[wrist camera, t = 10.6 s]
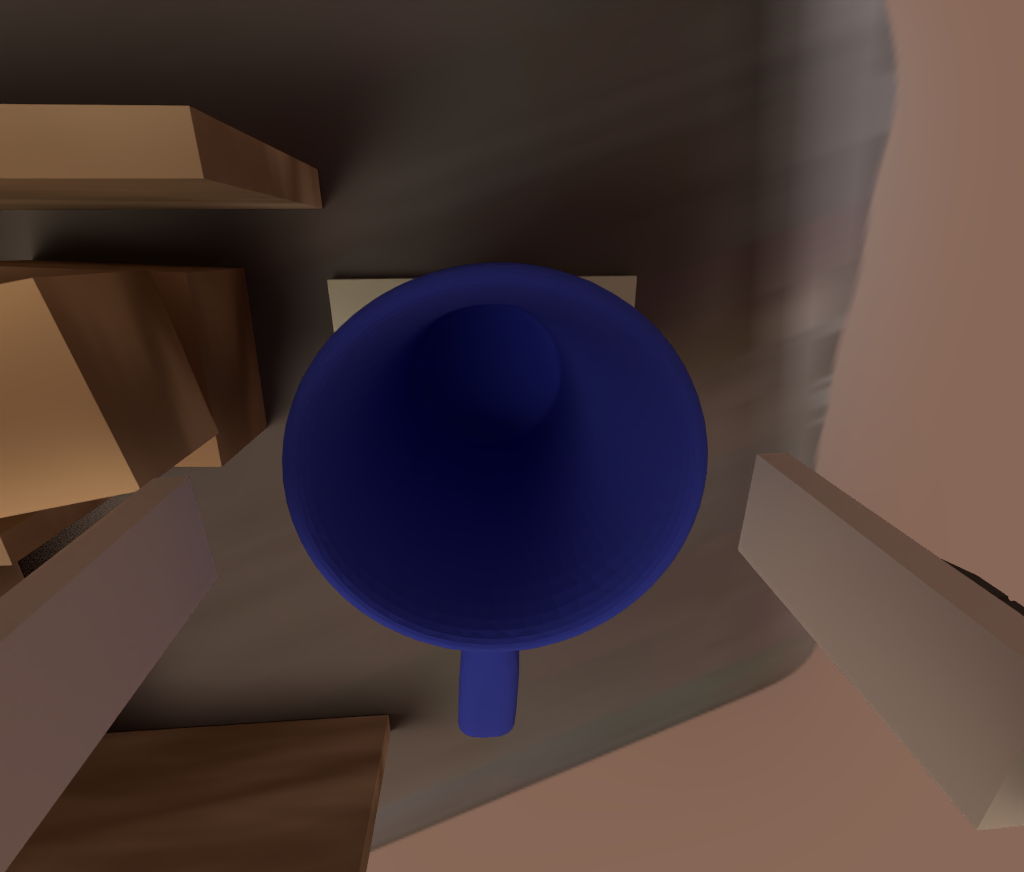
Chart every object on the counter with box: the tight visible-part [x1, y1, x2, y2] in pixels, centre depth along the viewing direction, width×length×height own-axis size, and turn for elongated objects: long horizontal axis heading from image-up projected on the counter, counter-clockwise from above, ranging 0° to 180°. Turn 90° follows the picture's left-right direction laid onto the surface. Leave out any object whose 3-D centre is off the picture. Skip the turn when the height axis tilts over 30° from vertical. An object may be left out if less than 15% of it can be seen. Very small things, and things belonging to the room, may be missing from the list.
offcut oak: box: [0, 270, 219, 518], centre depth 13 cm, size 5×6×4 cm
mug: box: [282, 262, 708, 738], centre depth 15 cm, size 8×12×10 cm
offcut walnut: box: [0, 260, 267, 467], centre depth 17 cm, size 6×7×4 cm
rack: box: [0, 104, 391, 872], centre depth 16 cm, size 26×16×10 cm, turn 0°
